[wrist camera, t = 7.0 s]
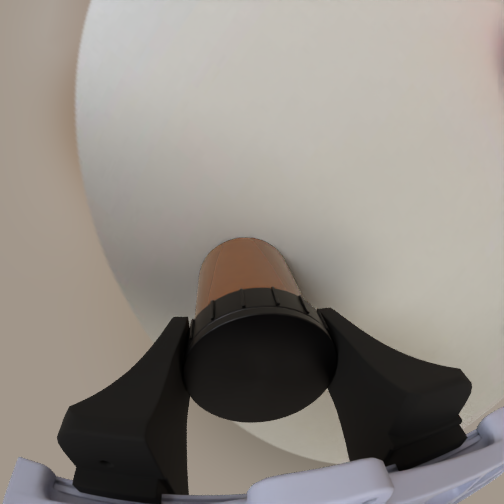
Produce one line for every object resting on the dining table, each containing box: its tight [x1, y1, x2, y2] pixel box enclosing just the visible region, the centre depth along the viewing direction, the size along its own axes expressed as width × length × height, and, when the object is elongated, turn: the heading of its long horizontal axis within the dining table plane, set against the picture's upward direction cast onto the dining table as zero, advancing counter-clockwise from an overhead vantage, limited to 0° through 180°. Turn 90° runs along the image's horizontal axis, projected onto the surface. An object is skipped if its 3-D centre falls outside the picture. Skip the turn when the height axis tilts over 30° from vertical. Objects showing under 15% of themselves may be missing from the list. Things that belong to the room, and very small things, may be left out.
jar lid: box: [182, 287, 337, 422], centre depth 11 cm, size 6×6×2 cm
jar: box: [195, 238, 304, 318], centre depth 14 cm, size 5×5×7 cm
